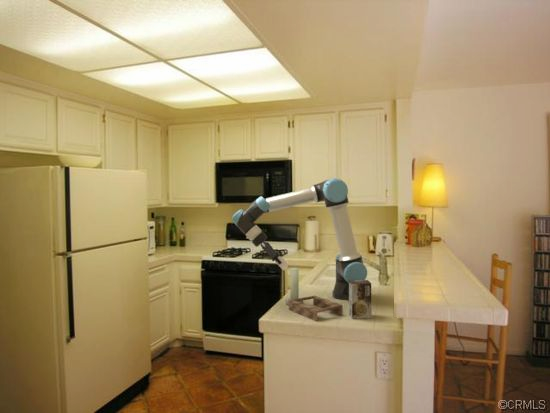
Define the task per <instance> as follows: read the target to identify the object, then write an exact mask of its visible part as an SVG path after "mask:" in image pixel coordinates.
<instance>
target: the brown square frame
mask: <svg viewBox="0 0 550 413" xmlns="http://www.w3.org/2000/svg"><path fill="white" fill-rule="evenodd" d="M307 300H313V301H312V302H313V303H312V304H313V305H307V304H304V303H303V304H302V303H299V302H297V301H303V302H304V301H307ZM288 311H292V312H293V313H296V314H298V315H300V316H303V317H304V318H307V319H309V320H312V321H314V322H317V321H318V313H323V312H328V311H329V312H331V313H334V314H337V315H339V316H343V314H344V306H343V305H342V304H340V303H337V302H335V301H331V300H329V299H325V298H323V297H320V296H316V295H310V296H305V297H300V298H299V299H293V300H289V306H288Z"/></svg>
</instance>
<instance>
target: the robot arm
mask: <svg viewBox="0 0 550 413" xmlns="http://www.w3.org/2000/svg"><path fill="white" fill-rule="evenodd" d="M348 194H349V188H348V185H347V183H346V182H345V181H343V180H342V179H340V178H336V177H334V178H330V179H325V180H324V181H321V182H319V183H316V184H312V185H311V187H307V188H304V189H299V190H295V191H291V192H287V193H282V194H278V195H274V196H270V197H266V198H264V197H263V196H262V195H261V196H259V197H258V198H256V199H255V200H254V201H253V202H251V204H250V205H249V206H248V207H247V208H246V209H245V210H243V209H239V210H237V211H236V212H235V213H234V214H233V215H232V217H231V221H232V222H233V223H234V224H235V227H237V228H238V229H239V230H240V231H241V233H243V234H244V235H245V236H246V237H245V239H248V240H249V241H251V243H252V244H253V245H254V246H255V247H256V248H257V247H259V246H260V247H261V249H262V250H263V251H264V252H265V253H266V254H267V255H269V257H270V258H271V261H272V262H275V263H276V265H278V267H280V269H281V270H282V271H285V270H286V269H287V268H289V267H288V266H289V264H288V262H286V261H285V260H284V259H283V257H281V254H280V253H277V251H276V250H275V249H274V248H273V246H271V244H270V242H268V241H265V240H267V238H268V236H267V235H266V234H265V232H263V231H262V229H261V228H260V227H259V226H258V225H257V224H256V223H255V222H256V221H257V220H259V219H260V217H262V216H263V215H264V214H267V213H271V212H275V211H280V210H284V209H287V208H292V207H295V206H301V205H304V204H308V203H312V202H314V203H321V202H324V205H325V208H326V209H328V210H329V212H330V217H331V221H332V224H333V228H334V229H333V230H334V233H335V237H336V238H335V239H336V241H337V245H338V249H339V250H338V251H339V254H337V255H336V256H335V260H334V261H335V284H334V287H333V289H332V297H333V298H335V299H338V300H346V301H347V300H348V301H349V280H367V276H368V269H367V267H366V265H365V264H364V262H363V257H362V254H361V253H360V252H359V251H358V249H357V246H356V240H355V236H354V231H353V227H352V223H351V220H350V216H349V211H348V207H347V206H348V204H349V203H350V202H349V196H348Z"/></svg>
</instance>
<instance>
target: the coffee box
mask: <svg viewBox="0 0 550 413" xmlns="http://www.w3.org/2000/svg"><path fill="white" fill-rule="evenodd" d="M348 316H350V318H351V319H352V320H357V319H360V320H361V319H363V320H364V319H372V318H373V317H372V283H371V282H370V281H369V280H368V279H365V280H349V300H348Z"/></svg>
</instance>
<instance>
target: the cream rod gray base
mask: <svg viewBox="0 0 550 413" xmlns="http://www.w3.org/2000/svg"><path fill="white" fill-rule="evenodd" d="M289 274H290V275H289V277H290V279H289V281H290V282H289V283H290V286H289V287H290V288H289V292H290V293H289V294H290V295H289V296H290V297H289V298H288V299H286V300H285V306H288V307H289V300H293V299H299V293H300V292H299V289H300V288H299V287H300V285H299V283H300V282H299V274H300V270H299V268H298V267H291V268H290V269H289ZM297 302H299V303H302V304H304V300H303V301H297Z"/></svg>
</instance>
